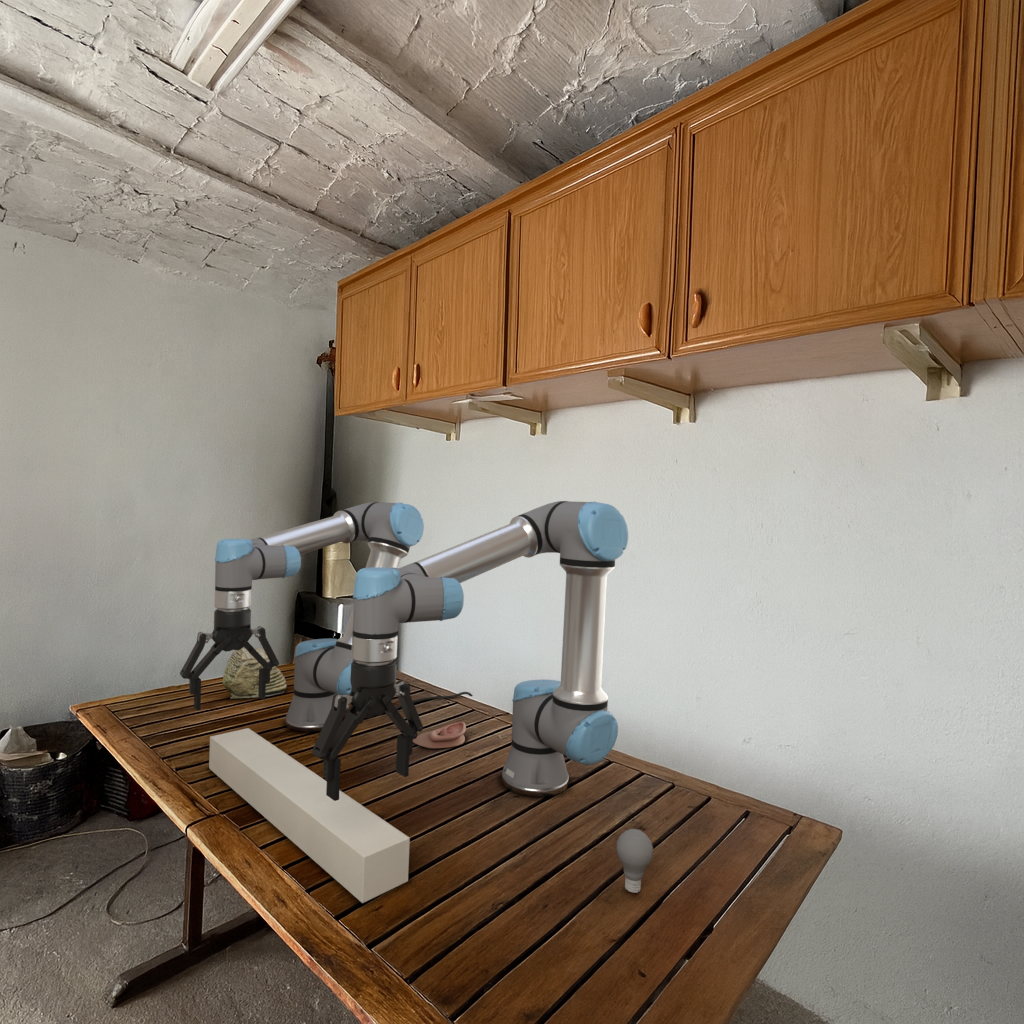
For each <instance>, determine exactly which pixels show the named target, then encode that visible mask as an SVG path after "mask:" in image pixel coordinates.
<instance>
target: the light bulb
mask: <svg viewBox="0 0 1024 1024" xmlns="http://www.w3.org/2000/svg"><path fill="white" fill-rule="evenodd" d="M615 849H616V854H617V857H618V859H619V861H620V863H621V865H622V867H623V873H624V874H623V875H624V876H625V878H624V888H625V890H627V891H628V892H630V893H634V894H635V893H639V892H640V891H641V889H642V887H641V886H642V879H643V877H644V875H645V871H646V868H647V867H648V866H649V864H650V863H651V861H652V859H653V855H654V847H653V843H652V841H651V838H649V836H648V835H647V834H646V833H645V832H643V831H642V830H641V829H636V828H629V829H627V830H625V831H623V832H622V833H621V834H620V835H619V837H618V839H617V841H616V847H615Z"/></svg>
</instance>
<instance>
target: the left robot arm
mask: <svg viewBox="0 0 1024 1024" xmlns="http://www.w3.org/2000/svg"><path fill="white" fill-rule="evenodd" d="M424 529H425V524H424V519H423V517H422V514H421V512H420V510H418V508H417V507H415V506H414V505H411V504H408V503H403V502H381V501H369V502H365V503H362V504H361V503H360V504H357V505H353V506H351V507H348V508H345V509H341V510H337V511H336V512H334V514H333V516H329V517H326V518H321V519H319V520H315V521H311V522H307V523H305V524H301V525H297V526H294V527H291V528H287V529H283V530H279V531H276V532H273V533H269V534H265V535H262V536H258V537H255V538H252V539H249V538H223V539H220V540H218V542H217V543H216V549H215V556H214V557H215V558H214V562H215V564H214V565H215V566H214V570H215V571H214V577H215V578H214V580H215V581H214V603H213V605H214V608H216V609H215V610H214V611H213V630H212V632H203V631H199V632H198V633H197V637H196V643H195V644H194V646H193V648H192V650H191V652H190V653H189V655H188V657H187V659H186V661H185V662H184V664H183V666H182V668H181V670H180V672H179V675H180V676H181V678H182V679H186V680H189V681H188V692H189V694H190V695H191V696H193V708H194V709H195V710H196V711H201V707H202V706H201V705H202V679H201V678H200V676H201V675H202V674H203V672H204V671H205V670H206V669H207V668H208V667H209V665H210V664H211V663H212V662H213V661H214V660H215V659H216V657H218V655H220V654H221V653H222V652H226V653H227V652H231V651H235V650H240V649H242V648H243V647H244V648H245V649H246V650H247V651H248V652H249V653H250V654H251V655H252V656H253V657H254V658H255V659H256V660H257V661H258V662H259V663H260V664H261V665H262V666H263V668H260V669H259V692H258V697H257V698H259V699H260V700H266V696H265V693H266V684H267V683H269V682H270V671H271V670H272V667H274V666H276V667H278V666H279V665H280V662H279V660H278V658H277V656H276V654H275V652H274V650H273V648H272V646H271V644H270V642H269V640H268V639H267V632H266V629H265V627H263V626H262V625H259V626H257V627H256V628H255V627H254V628H252V626H251V625H252V609H251V608H250V607H251V606H252V589H253V581H257V580H269V579H280V578H282V579H285V578H290V577H293V576H295V575H297V574H298V573H299V571H300V570H301V566H302V555H305V554H309V553H311V552H314V551H316V550H320V549H323V548H327V547H330V546H333V545H336V544H339V543H343V544H350V543H353V542H367V546H368V548H369V549H370V552H369V556H368V559H367V562H366V565H365V568H369V567H380V568H382V567H384V568H394V567H395V568H400V563H401V560H402V559H404V558H405V557H407V556H409V552H410V549H411V547H413V546H416V545H417V544H418V543H420V541H421V540H422V538H423V536H424ZM353 607H354V605H352V608H353ZM253 635H254V637H255V638H257V639H258V642H259V643H260V645H261V647H262V649H263V650H264V652H265V653H266V655H267V656H268V658H269V660H270V661H269V662H267V661H266V660H265V659H264V658H263V657H262V656H261V655H260V654H259V653H258V652H257V651H256V650H255V649H256V648H255V647H254V646H253V645H252V644H251V643H250V642H249V640H250V639H251V638H252V636H253ZM352 635H353V609H351V613H350V617H349V620H348V622H347V626H346V629H345V632H344V635H342V636H341V637H340V638H338V639H337V638H331V637H329V638H317V639H316V638H315V639H308V640H304V641H300V642H299V643H298V644H297V645H296V646H295V650H294V651H295V652H294V655H293V658H294V672H293V673H294V674H293V695H292V696H293V697H292V699H291V702H290V703H289V705H288V711H287V713H286V715H285V726H286V728H287V729H289V730H291V731H294V732H295V731H296V732H301V733H316V732H321V730H322V728H323V725H324V723H325V721H326V719H327V717H328V714H329V712H330V710H331V707H332V700H333V696H334V695H335V694H339V695H349V694H350V692H351V689H352V687H351V681H350V679H351V663H352V662H353V661H354V660H353V659H352V657H351V651H352ZM210 640H212V641H213V642H214V643H213V644H212V646H210V649H209V650H208V651H207V653H205V655H204V656H203V657H202V658H201V659H200V661H199V662H197V661H198V659H199V658H200V656H201V654H202V652H203V650H204V648H205V645H206V644H208V643H209V641H210ZM196 663H197V664H196ZM462 695H467V696H469V697H473V696H474V695H473V694H472V693H471V692H469V691H461V692H458V693H456V694H453V695H437V696H436V695H435V696H426V697H420V698H416V699H412V700H413V703H414V704H415V703H418V702H422V701H427V700H441V699H442V700H443V699H454V698H457V697H460V696H462ZM395 707H396V708H397V710H398V709H400V708H402V707H401V704H398V705H395ZM348 710H349V709H346V711H345V714H346V713H347V711H348ZM384 713H385V712H384ZM384 713H383V714H384ZM385 714H386V713H385ZM355 715H358V713H357V712H356V713H355ZM343 720H344V718H343V719H342V722H343ZM342 722H341V723H342Z"/></svg>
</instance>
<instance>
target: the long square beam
mask: <svg viewBox="0 0 1024 1024" xmlns="http://www.w3.org/2000/svg"><path fill="white" fill-rule="evenodd" d="M208 755H209V756H208V759H209V760H208V769H209V770H210V771H211V772H212V773H214V774H215V775H216V776H217V777H218V778H219V779H220V780H222V781H223V782H224V784H226V785H227V786H228V787H230V788H231V789H232V790H233V791H234V792H235V793H236V794H237V795H239V796H240V797H241V798H242V799H243V800H244V801H246V802H247V803H248V804H249V805H250V806H251V807H252V808H254V810H256V811H257V812H258V813H259V814H261V815H262V816H263V817H264V819H266V820H267V821H268V822H269V823H270V824H271V825H273V827H275V828H276V829H277V830H278V831H279V832H281V833H282V834H283V835H284V836H285V837H286V838H288V839H289V840H290V841H291V842H292V843H293V844H294V845H295V846H296V847H298V848H299V849H300V850H301V851H302V852H304V853H305V854H306V855H307V857H309V858H310V859H311V860H313V861H314V862H315V864H317V865H318V866H319V867H320V868H321V869H323V870H324V871H325V872H326V873H328V875H330V876H331V877H332V878H333V879H334V880H335V881H336V882H337V883H339V884H340V885H341V886H342V887H343V888H344V889H345V890H347V891H348V892H349V893H350V894H351V895H352V896H353V897H354V898H356V899H357V900H358V901H359V902H360V903H361V904H364V903H366V902H368V901H370V900H373V899H375V898H376V897H378V896H381V895H383V894H384V893H387V892H389V891H391V890H393V889H395V888H396V887H400V886H401V885H403V884H405V883H408V882H409V867H410V865H409V864H410V846H411V845H410V841H411V838H410V837H409V836H408V835H406V834H405V833H403V832H402V831H400V829H397V828H396V827H395V826H393V825H392V824H390V823H389V822H387V821H386V820H385V819H382V818H381V817H380V816H379V815H377V814H375V813H374V812H372V811H371V810H370V809H368V808H367V807H365V806H364V805H362V803H359V802H357V800H355V799H354V798H352V797H350V796H349V795H348V794H346V793H345V792H343V791H342V790H341V789H339V800H337V801H334V800H333V799H331V798H330V797H328V796H327V795H326V788H327V780H326V779H325V778H323V777H321V776H320V775H318V774H317V773H315V772H314V771H313V770H311V769H309V768H308V767H307V766H305V765H303V764H302V763H300V762H299V761H297V760H296V759H295V758H293V757H291V756H290V755H289V754H287V753H286V752H285V751H283V750H281V749H280V748H278V747H277V746H276V745H274V744H273V743H271V742H270V741H268V740H267V739H265V738H263V737H262V736H261V735H259V734H258V733H257V732H255V731H253V730H252V729H251V728H249V727H247V728H241V729H238V730H233V731H229V732H223V733H220V734H216V735H210V736H209V754H208Z"/></svg>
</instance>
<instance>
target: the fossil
mask: <svg viewBox="0 0 1024 1024" xmlns="http://www.w3.org/2000/svg"><path fill="white" fill-rule="evenodd" d="M254 649H255V650H256V651H257V652H258V653H259V654H260V655H261V656H262V657H263V658H264V659H265V660H266V661H267V662H269V661H270V660H269V658H268V656H267V655H266V653H265V651H264V649H263V648H260V647H258V648H254ZM260 668H263V666H262V665H261V664H260V663H259V662H258V661H257V660H256V659H255V658H254V657H253V656H252V655H251V654H250V653H249V652H248V651H247V650H246V649H245V648H244V647H243V648H242V649H240V650H233V651H232V653H231V656H230V657H229V659H228V660H227V663H226V666H225V668H224V671H223V675H222V676H223V677H222V685H223V687H224V688H225V690H226V691H228V693H229V698H230V699H250V698H259V697H258V692H259V669H260ZM287 687H288V686H287V680H286V678H285V676H284V674H283V673H282V672H281V669H279V668H278V667H277V666H274V667H272V670H271V671H270V682H269V683H267V684H266V693H265V697H271V696H275V695H281V694H284V693H285V691H286V689H287Z"/></svg>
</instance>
